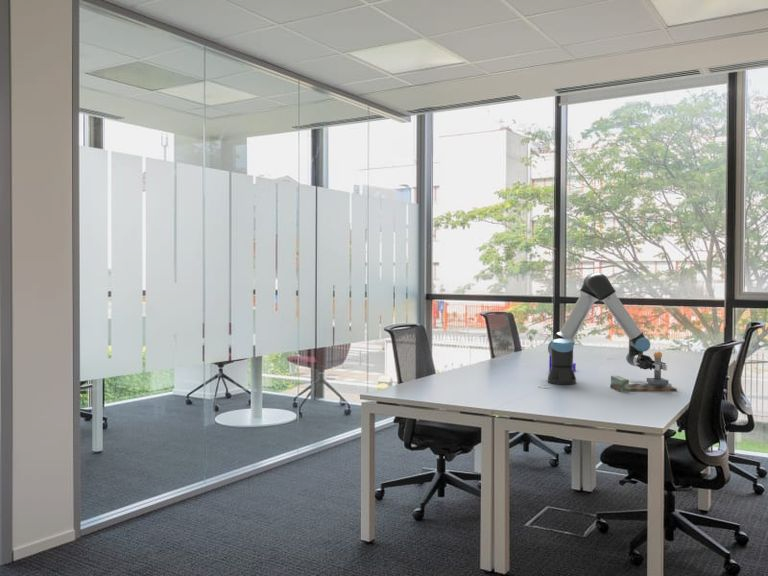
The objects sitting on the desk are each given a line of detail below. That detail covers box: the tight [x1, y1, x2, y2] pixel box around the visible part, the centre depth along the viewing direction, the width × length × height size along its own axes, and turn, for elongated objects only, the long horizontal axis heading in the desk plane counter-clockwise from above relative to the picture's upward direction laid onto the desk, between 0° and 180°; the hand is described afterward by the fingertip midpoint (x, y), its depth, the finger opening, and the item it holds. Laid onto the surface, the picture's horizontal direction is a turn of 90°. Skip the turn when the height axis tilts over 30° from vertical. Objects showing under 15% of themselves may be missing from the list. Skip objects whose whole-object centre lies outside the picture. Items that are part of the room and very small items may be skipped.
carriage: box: [646, 350, 669, 386], centre depth 355 cm, size 8×8×18 cm
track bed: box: [609, 375, 678, 393], centre depth 354 cm, size 30×14×6 cm, turn 92°
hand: (662, 367), depth 349 cm, fingers closed on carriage, 3 cm apart
